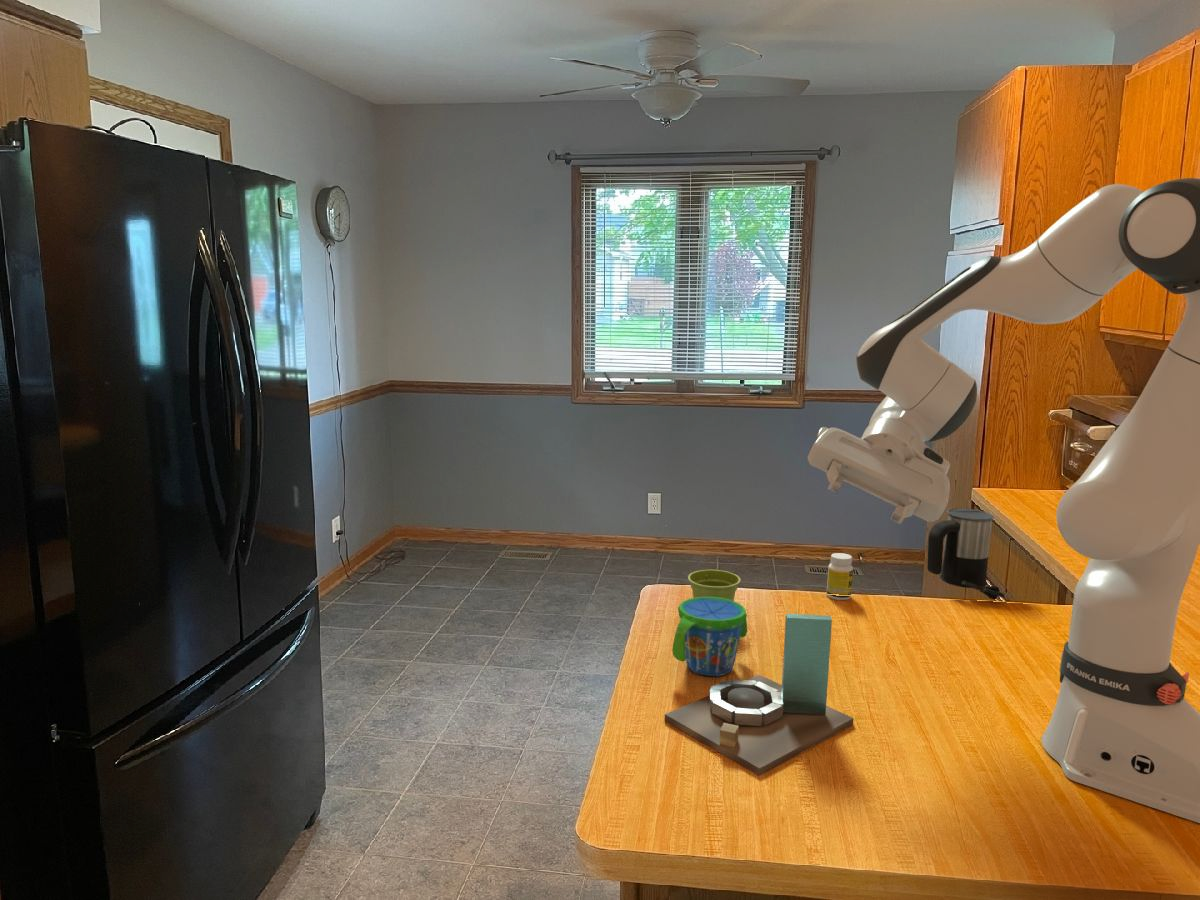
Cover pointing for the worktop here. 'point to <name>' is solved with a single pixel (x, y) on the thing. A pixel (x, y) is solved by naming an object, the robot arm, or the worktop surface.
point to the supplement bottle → (840, 576)
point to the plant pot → (714, 584)
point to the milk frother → (963, 550)
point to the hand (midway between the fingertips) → (865, 502)
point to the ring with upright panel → (787, 676)
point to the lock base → (757, 729)
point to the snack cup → (709, 634)
